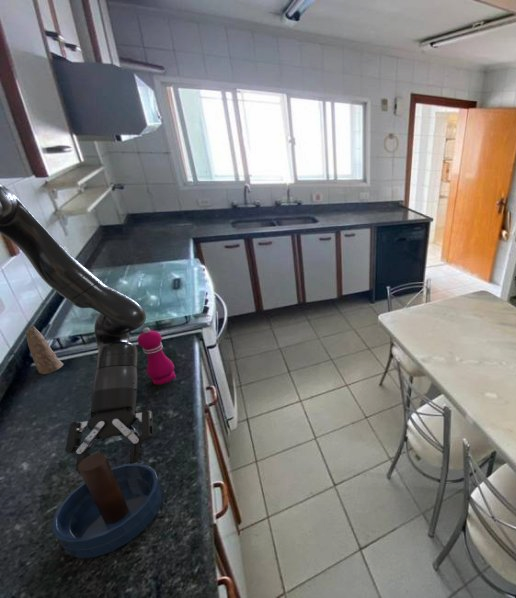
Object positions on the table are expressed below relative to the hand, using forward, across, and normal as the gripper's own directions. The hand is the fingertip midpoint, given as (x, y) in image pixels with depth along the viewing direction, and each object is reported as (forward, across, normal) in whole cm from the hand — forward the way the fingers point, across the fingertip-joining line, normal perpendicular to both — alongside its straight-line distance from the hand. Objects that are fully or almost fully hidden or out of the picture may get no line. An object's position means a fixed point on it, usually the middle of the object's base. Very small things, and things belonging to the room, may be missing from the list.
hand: (109, 467), depth 68 cm
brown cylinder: (+10, 0, +4) cm, 10 cm away
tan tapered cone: (-31, -35, +46) cm, 65 cm away
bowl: (+10, 0, +4) cm, 11 cm away
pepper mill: (-23, -2, +38) cm, 44 cm away
